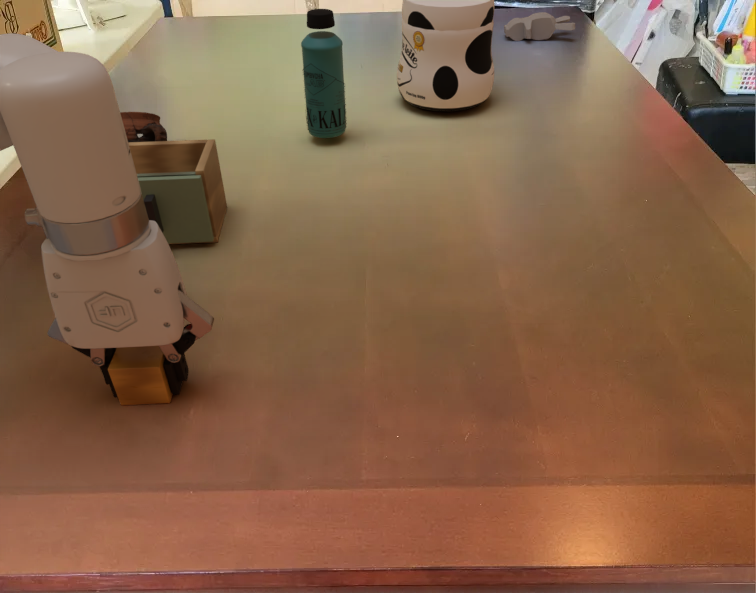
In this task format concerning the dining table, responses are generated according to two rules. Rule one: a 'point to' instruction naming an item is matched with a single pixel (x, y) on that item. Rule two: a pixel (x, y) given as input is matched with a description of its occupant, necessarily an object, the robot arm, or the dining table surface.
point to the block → (139, 375)
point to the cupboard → (185, 170)
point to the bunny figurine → (536, 26)
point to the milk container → (446, 53)
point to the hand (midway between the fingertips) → (150, 383)
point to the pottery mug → (143, 127)
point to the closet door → (178, 207)
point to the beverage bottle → (323, 77)
